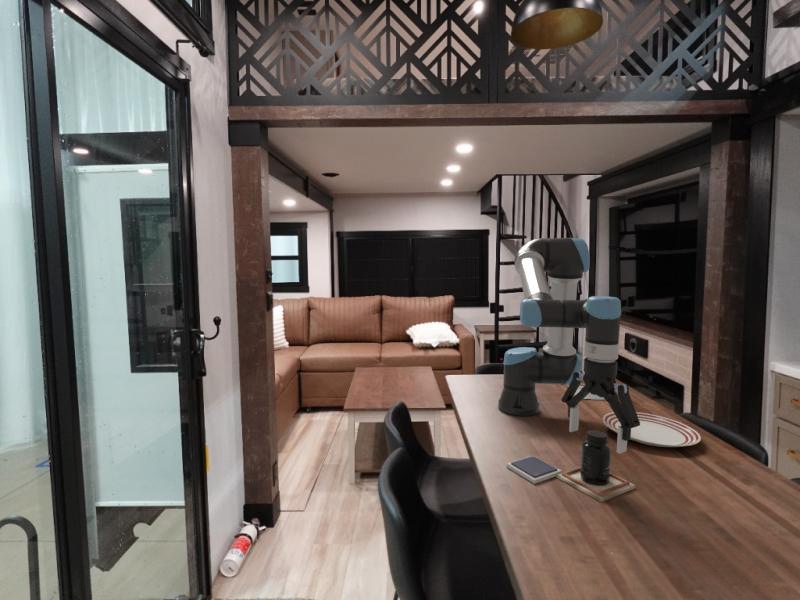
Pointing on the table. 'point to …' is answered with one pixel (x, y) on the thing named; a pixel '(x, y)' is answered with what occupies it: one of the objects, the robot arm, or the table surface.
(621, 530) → the table surface
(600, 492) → the board
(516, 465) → the ink pad
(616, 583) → the table surface
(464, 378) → the table surface
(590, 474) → the supplement bottle
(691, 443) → the dinner plate
